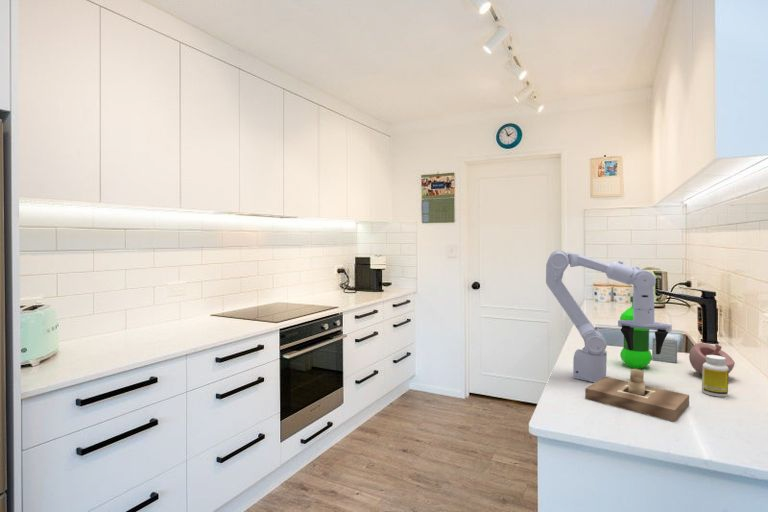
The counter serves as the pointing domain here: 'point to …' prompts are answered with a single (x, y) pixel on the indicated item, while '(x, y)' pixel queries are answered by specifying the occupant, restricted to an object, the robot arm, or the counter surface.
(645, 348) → the plastic bottle
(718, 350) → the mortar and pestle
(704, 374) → the pill bottle
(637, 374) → the beech peg
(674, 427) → the counter surface
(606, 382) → the socket board
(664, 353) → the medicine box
